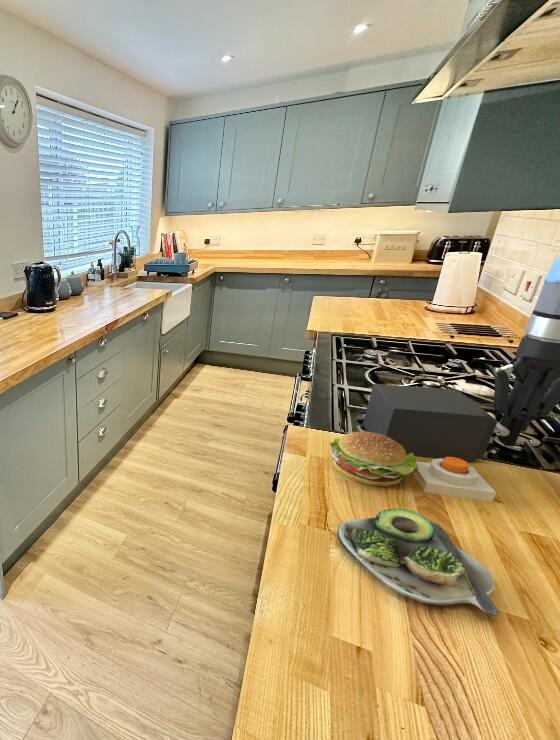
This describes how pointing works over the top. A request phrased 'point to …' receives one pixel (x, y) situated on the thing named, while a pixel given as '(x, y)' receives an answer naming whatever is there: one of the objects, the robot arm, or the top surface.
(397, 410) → the dark grey box
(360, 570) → the top surface
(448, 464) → the button
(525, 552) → the top surface
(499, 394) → the robot arm
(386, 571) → the salad plate
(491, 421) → the fryer drawer
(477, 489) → the block
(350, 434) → the food
